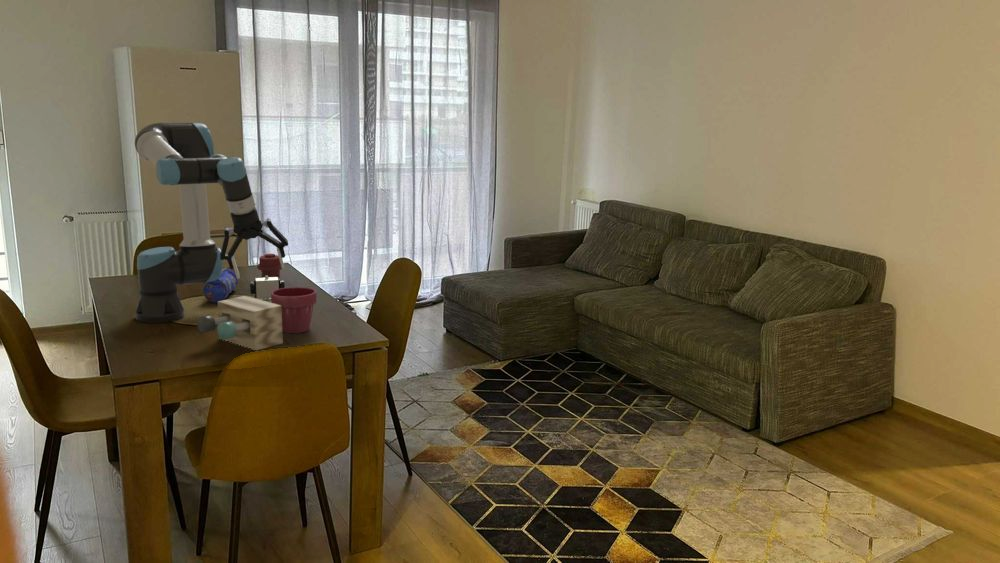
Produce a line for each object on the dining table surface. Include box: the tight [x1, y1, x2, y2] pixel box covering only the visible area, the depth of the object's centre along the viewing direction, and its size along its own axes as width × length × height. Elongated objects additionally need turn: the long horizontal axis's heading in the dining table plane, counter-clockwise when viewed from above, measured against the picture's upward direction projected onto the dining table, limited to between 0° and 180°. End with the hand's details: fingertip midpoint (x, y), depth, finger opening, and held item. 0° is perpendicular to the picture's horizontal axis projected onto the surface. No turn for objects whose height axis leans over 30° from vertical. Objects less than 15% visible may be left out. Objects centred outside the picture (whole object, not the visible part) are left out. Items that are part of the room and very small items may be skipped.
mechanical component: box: [257, 253, 283, 279], centre depth 313 cm, size 12×10×10 cm
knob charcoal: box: [196, 315, 230, 334], centre depth 237 cm, size 12×5×5 cm, turn 144°
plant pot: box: [271, 286, 317, 334], centre depth 254 cm, size 14×14×13 cm
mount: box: [216, 295, 284, 351], centre depth 240 cm, size 10×18×12 cm, turn 54°
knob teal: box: [216, 321, 250, 341], centre depth 232 cm, size 12×5×5 cm, turn 144°
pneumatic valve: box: [249, 276, 286, 303], centre depth 278 cm, size 6×12×12 cm, turn 110°
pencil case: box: [202, 267, 239, 303], centre depth 293 cm, size 22×9×10 cm, turn 8°
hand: (260, 271), depth 241 cm, fingers open, 13 cm apart
